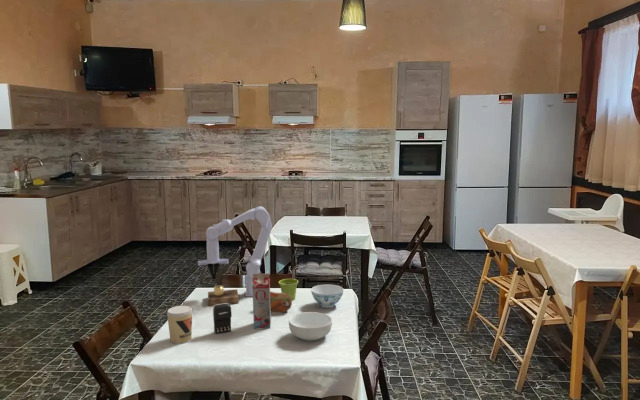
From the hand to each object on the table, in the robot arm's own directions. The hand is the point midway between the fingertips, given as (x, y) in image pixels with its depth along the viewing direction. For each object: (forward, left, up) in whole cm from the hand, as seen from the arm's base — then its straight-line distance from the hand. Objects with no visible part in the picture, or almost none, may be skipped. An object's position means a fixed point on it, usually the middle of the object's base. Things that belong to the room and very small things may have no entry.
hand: (214, 278), depth 225 cm
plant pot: (-35, +12, -10) cm, 38 cm away
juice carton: (-19, +42, -10) cm, 47 cm away
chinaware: (-51, +26, -10) cm, 58 cm away
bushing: (-2, +6, -9) cm, 11 cm away
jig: (-4, +6, -9) cm, 12 cm away
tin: (-27, +26, -10) cm, 39 cm away
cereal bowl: (-36, +58, -10) cm, 69 cm away
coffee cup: (+13, +48, -10) cm, 51 cm away
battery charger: (-3, +45, -10) cm, 46 cm away
